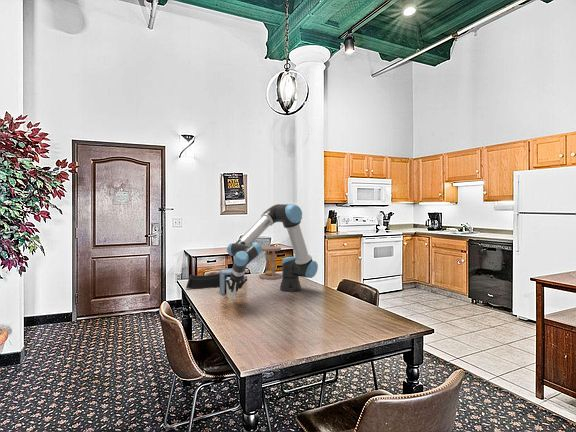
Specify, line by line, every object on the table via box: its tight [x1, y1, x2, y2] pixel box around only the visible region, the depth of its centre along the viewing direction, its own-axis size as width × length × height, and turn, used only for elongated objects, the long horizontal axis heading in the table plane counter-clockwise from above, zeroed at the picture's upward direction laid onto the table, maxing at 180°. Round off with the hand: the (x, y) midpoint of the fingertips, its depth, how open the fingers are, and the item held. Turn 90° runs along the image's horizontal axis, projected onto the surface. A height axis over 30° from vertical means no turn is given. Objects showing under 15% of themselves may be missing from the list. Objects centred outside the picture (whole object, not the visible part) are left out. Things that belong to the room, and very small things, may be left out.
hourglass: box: [259, 245, 282, 281], centre depth 301 cm, size 18×18×25 cm
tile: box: [225, 277, 237, 301], centre depth 236 cm, size 13×4×12 cm, turn 18°
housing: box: [219, 268, 232, 296], centre depth 250 cm, size 14×8×14 cm, turn 18°
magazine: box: [185, 272, 220, 290], centre depth 263 cm, size 17×3×30 cm
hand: (233, 293), depth 227 cm, fingers closed
